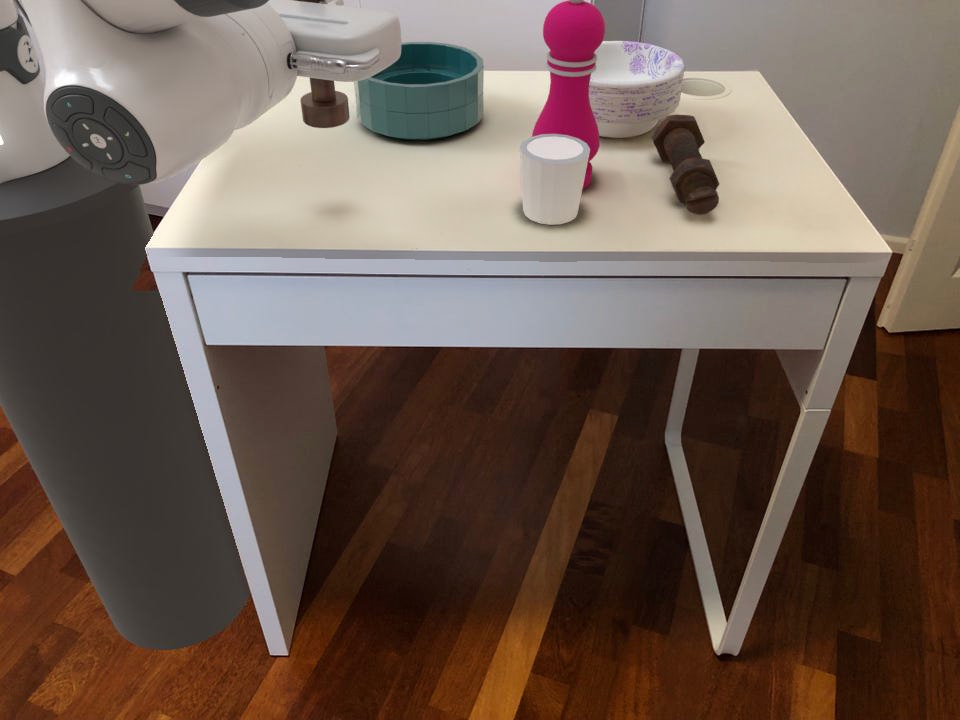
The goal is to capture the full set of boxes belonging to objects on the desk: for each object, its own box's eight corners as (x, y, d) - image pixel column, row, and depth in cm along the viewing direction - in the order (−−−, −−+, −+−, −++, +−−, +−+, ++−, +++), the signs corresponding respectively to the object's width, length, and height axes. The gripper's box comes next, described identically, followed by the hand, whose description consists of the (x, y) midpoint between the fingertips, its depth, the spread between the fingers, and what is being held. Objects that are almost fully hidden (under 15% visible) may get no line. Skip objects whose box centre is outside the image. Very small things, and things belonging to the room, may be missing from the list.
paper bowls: (526, 122, 99) (529, 58, 94) (604, 91, 107) (610, 30, 102) (623, 161, 91) (632, 93, 86) (699, 124, 99) (711, 60, 94)
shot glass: (507, 201, 83) (509, 137, 79) (567, 191, 85) (572, 128, 81) (532, 232, 78) (535, 166, 74) (595, 221, 80) (602, 156, 76)
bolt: (688, 235, 81) (664, 165, 93) (737, 215, 80) (706, 146, 91) (668, 191, 78) (646, 124, 89) (718, 168, 76) (688, 103, 88)
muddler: (299, 128, 74) (269, -91, 62) (306, 109, 77) (278, -101, 66) (347, 128, 74) (325, -90, 63) (351, 109, 77) (332, -101, 66)
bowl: (352, 145, 94) (346, 87, 89) (364, 95, 106) (359, 41, 101) (484, 144, 94) (485, 86, 90) (481, 95, 106) (481, 41, 102)
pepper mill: (592, 165, 90) (611, -26, 77) (598, 195, 84) (620, -5, 72) (528, 164, 90) (537, -27, 77) (530, 194, 84) (540, -6, 72)
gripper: (358, 27, 55) (427, -23, 66) (109, -2, 60) (210, -44, 70) (365, 114, 59) (429, 55, 70) (132, 81, 64) (224, 30, 74)
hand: (317, 5), depth 70 cm, fingers closed on muddler, 2 cm apart
